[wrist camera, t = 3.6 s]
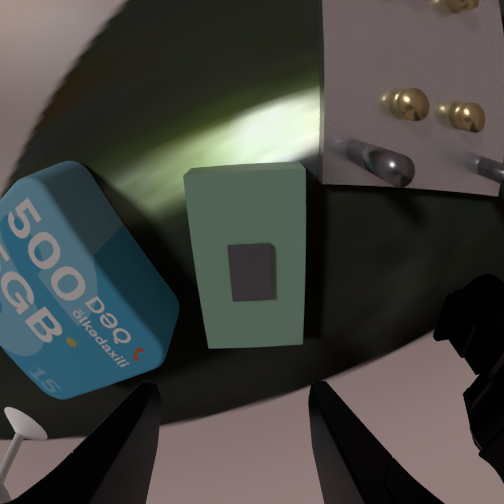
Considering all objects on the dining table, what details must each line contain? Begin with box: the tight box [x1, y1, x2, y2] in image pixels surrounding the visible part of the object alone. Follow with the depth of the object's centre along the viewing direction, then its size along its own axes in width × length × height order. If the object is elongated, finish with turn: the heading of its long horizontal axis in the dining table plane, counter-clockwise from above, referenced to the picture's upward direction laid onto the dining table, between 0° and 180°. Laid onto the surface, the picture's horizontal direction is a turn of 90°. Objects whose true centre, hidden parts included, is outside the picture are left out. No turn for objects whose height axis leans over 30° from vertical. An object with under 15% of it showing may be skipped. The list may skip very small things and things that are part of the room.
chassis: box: [318, 0, 504, 196], centre depth 10 cm, size 12×16×6 cm
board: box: [183, 162, 306, 348], centre depth 17 cm, size 6×10×3 cm, turn 3°
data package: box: [0, 161, 180, 399], centre depth 16 cm, size 12×4×12 cm
